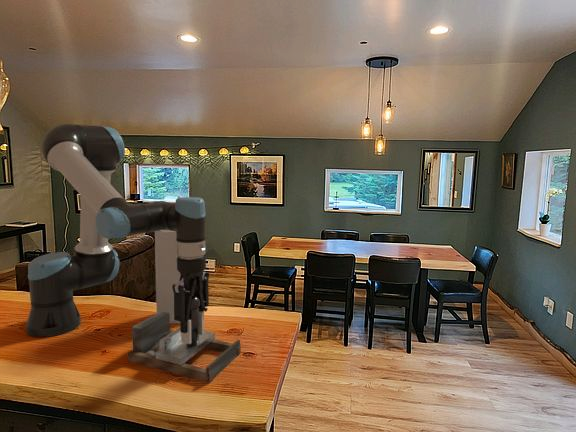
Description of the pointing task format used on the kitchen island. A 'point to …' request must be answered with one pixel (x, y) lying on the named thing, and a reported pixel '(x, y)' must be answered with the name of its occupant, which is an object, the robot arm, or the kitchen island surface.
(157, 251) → the vase
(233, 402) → the kitchen island surface
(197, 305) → the ram
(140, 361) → the grey rectangular frame
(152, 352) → the stone
